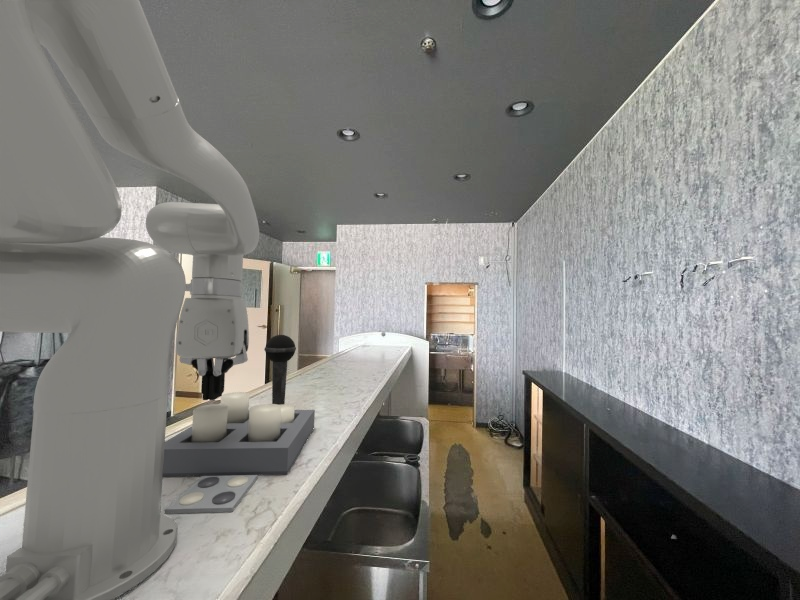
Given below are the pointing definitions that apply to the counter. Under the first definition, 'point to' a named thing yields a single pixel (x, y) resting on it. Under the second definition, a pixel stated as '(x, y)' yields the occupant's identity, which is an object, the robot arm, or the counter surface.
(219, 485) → the tile
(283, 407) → the button far right
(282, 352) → the microphone
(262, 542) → the counter surface
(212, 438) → the button near left
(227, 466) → the board
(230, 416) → the button far left
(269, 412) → the button near right
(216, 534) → the counter surface
